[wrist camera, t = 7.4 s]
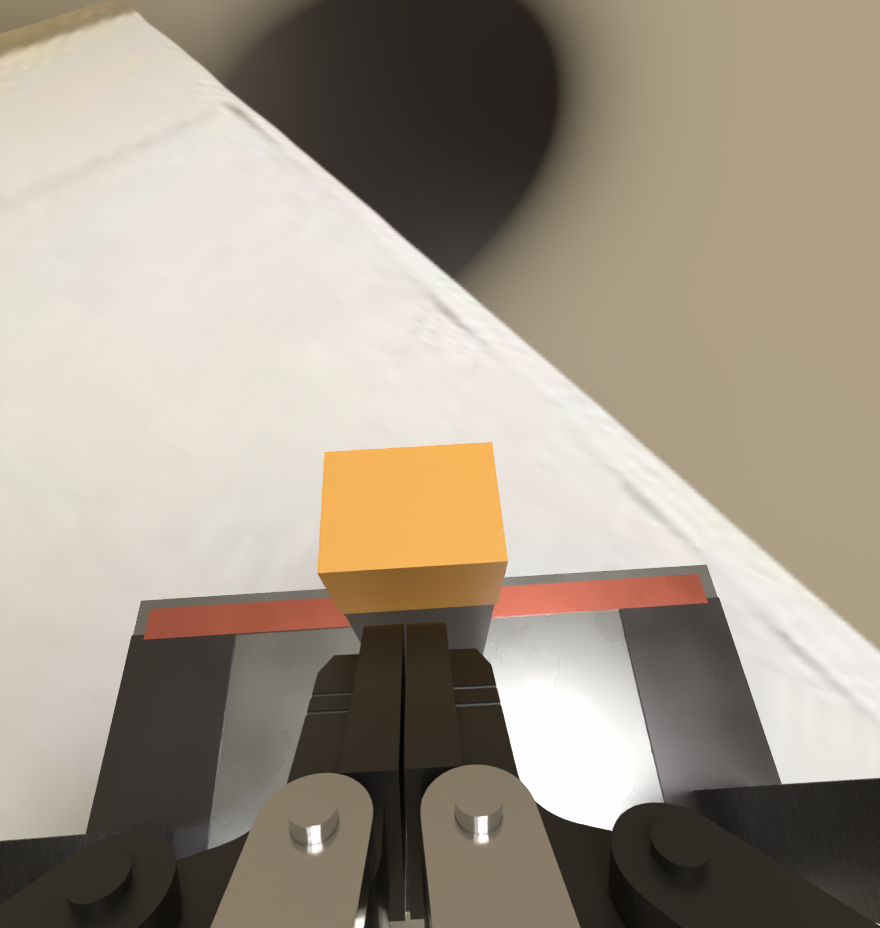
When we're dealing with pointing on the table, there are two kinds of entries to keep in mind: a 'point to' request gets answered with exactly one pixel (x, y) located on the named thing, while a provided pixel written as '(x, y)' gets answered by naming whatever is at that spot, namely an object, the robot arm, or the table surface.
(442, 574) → the lever
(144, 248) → the table surface
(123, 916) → the robot arm
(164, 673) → the pillared base stand
